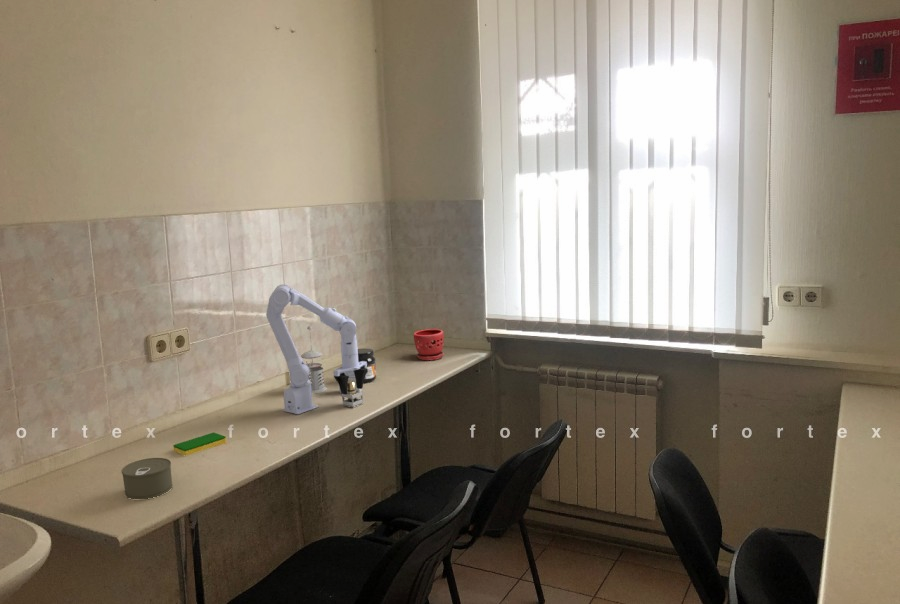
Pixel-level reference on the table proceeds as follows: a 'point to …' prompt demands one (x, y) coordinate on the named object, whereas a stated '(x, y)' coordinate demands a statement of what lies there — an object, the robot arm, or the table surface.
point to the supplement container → (368, 363)
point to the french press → (315, 370)
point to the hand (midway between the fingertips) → (352, 391)
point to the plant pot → (429, 344)
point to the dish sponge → (199, 443)
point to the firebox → (352, 404)
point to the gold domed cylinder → (351, 390)
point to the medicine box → (351, 377)
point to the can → (147, 478)
